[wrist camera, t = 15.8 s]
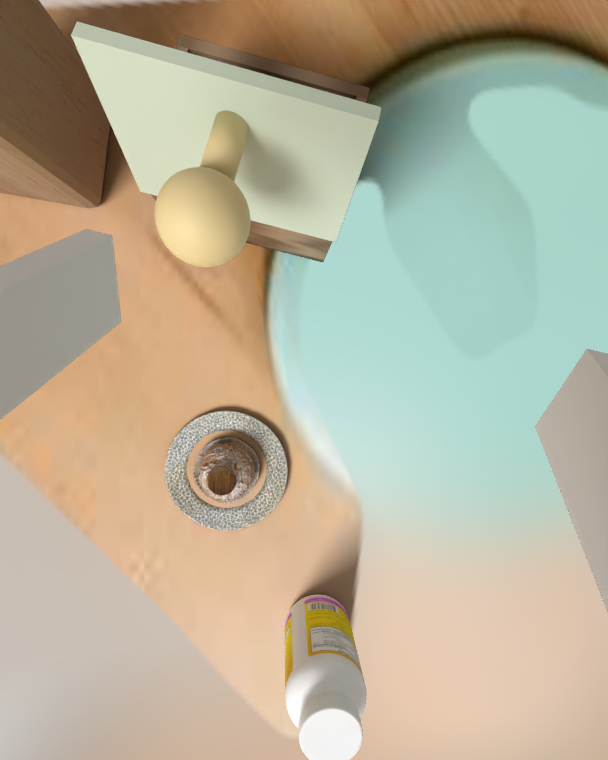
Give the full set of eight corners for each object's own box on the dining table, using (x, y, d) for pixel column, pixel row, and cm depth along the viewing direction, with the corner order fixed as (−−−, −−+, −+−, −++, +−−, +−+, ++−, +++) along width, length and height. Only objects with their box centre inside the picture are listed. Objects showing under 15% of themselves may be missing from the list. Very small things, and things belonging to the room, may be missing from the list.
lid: (381, 107, 20) (346, 272, 18) (337, 232, 31) (313, 343, 29) (76, 21, 19) (7, 186, 17) (143, 182, 30) (105, 292, 28)
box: (351, 144, 39) (370, 85, 30) (323, 262, 40) (333, 238, 31) (204, 104, 38) (179, 30, 29) (178, 225, 39) (146, 189, 30)
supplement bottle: (308, 664, 43) (318, 797, 31) (272, 615, 43) (266, 730, 30) (361, 627, 43) (393, 746, 31) (325, 578, 43) (342, 678, 30)
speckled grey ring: (311, 475, 42) (314, 491, 38) (220, 549, 42) (212, 573, 38) (235, 384, 41) (229, 389, 37) (142, 461, 41) (124, 475, 37)
